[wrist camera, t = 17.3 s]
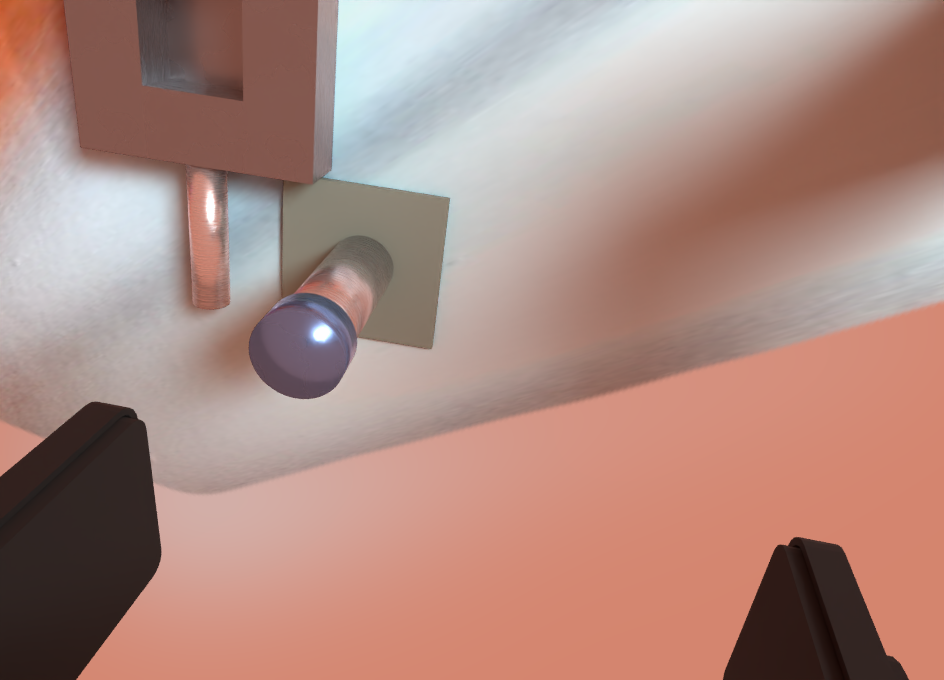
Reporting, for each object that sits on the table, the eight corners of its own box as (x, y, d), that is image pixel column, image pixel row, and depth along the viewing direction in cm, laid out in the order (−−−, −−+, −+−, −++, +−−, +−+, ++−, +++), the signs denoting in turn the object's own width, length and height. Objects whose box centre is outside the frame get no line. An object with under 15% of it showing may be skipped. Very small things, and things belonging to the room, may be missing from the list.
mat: (449, 198, 39) (448, 199, 38) (432, 346, 43) (431, 349, 42) (285, 171, 39) (283, 173, 39) (284, 321, 43) (281, 323, 43)
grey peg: (326, 224, 40) (248, 303, 30) (401, 236, 40) (347, 320, 30) (323, 294, 42) (249, 390, 32) (395, 306, 42) (342, 406, 32)
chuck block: (91, -124, 34) (48, -134, 31) (341, -88, 33) (321, -95, 31) (128, 271, 43) (97, 292, 40) (325, 305, 42) (308, 328, 40)
